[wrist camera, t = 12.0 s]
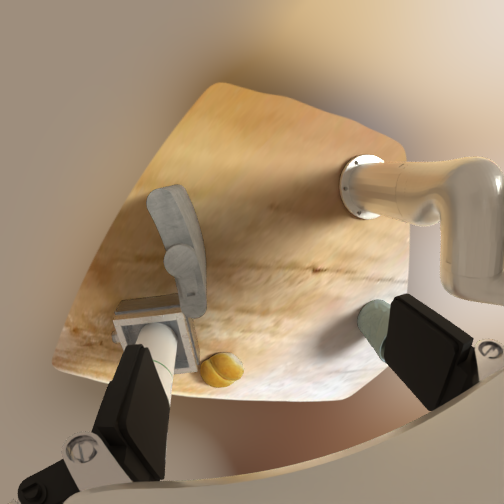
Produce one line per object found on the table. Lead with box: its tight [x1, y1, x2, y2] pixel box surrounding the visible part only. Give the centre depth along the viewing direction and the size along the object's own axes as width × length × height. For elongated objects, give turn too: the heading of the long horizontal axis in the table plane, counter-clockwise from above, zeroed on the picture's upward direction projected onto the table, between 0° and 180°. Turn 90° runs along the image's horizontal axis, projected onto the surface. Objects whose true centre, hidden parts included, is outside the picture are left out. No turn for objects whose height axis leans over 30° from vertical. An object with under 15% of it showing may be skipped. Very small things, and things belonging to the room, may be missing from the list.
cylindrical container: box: [136, 323, 178, 460], centre depth 35 cm, size 7×7×25 cm
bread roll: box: [200, 353, 244, 388], centre depth 55 cm, size 8×9×4 cm
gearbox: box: [112, 294, 200, 374], centre depth 48 cm, size 16×13×8 cm
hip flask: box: [146, 185, 207, 318], centre depth 38 cm, size 16×4×20 cm, turn 14°
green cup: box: [357, 300, 390, 363], centre depth 53 cm, size 10×10×12 cm
